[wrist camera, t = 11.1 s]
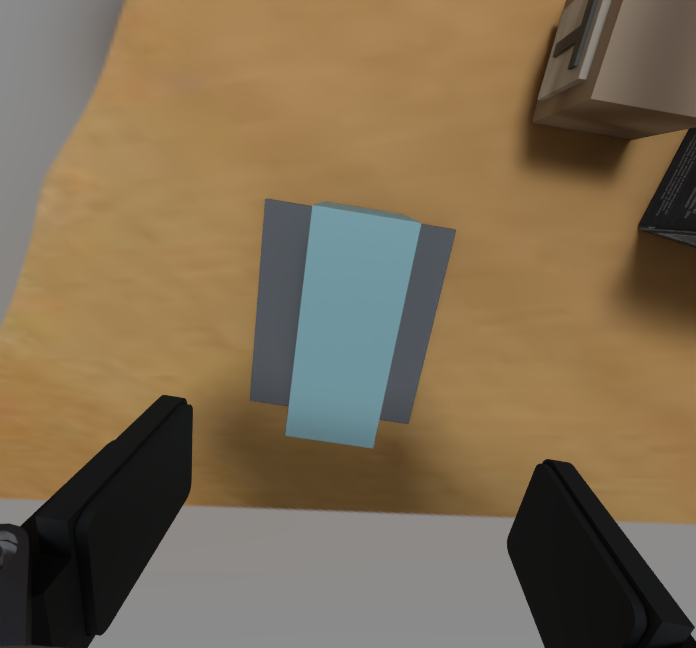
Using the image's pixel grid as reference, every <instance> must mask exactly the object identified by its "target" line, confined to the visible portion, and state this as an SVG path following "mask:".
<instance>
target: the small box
mask: <svg viewBox="0 0 696 648" xmlns="http://www.w3.org/2000/svg"><path fill="white" fill-rule="evenodd" d="M639 227H640V230H642V231H644V232H649V233H651V234H655V235H657V236H660V237H663V238H667V239H670V240H673V241H677V242H679V243H683V244H686V245H690V246H692V247H695V248H696V127H695V128H690V129H689V132H688V133H687V135H686V137H685V139H684V141H683V143H682V145H681V147H680V148H679V150H678V152H677V154H676V156H675V158H674V160H673V161H672V163H671V165H670V167H669V169H668V171H667V173H666V175H665V177H664V179H663V181H662V183H661V184H660V186H659V188H658V190H657V192H656V194H655V196H654V198H653V200H652V202H651V203H650V205H649V207H648V209H647V211H646V213H645V215H644V217H643V219H642V221H641V223H640V226H639Z"/></svg>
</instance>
